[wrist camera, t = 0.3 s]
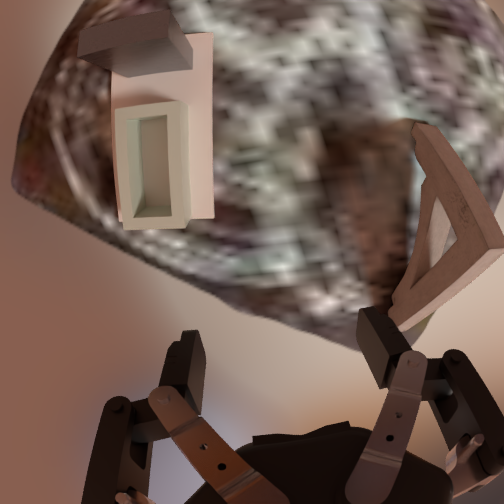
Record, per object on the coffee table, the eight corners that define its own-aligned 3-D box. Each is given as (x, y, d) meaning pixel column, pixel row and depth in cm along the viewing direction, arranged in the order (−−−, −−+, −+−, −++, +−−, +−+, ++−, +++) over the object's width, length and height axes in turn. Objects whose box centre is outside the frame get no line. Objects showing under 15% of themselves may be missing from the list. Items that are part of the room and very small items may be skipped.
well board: (116, 48, 29) (96, 36, 23) (213, 34, 30) (208, 17, 24) (121, 219, 40) (104, 234, 34) (214, 216, 40) (210, 231, 34)
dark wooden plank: (127, 78, 31) (76, 57, 18) (128, 58, 29) (79, 30, 17) (192, 69, 31) (168, 37, 18) (193, 49, 30) (170, 9, 17)
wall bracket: (362, 235, 60) (414, 122, 34) (380, 235, 60) (436, 126, 34) (387, 334, 48) (489, 249, 23) (406, 330, 48) (509, 247, 23)
